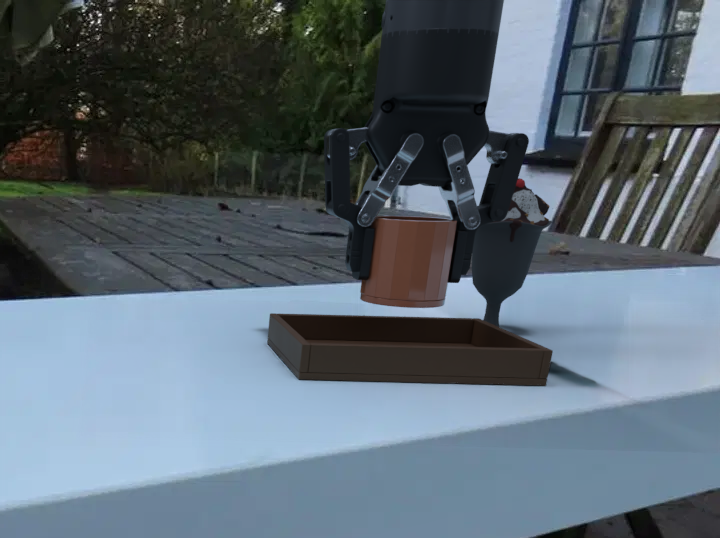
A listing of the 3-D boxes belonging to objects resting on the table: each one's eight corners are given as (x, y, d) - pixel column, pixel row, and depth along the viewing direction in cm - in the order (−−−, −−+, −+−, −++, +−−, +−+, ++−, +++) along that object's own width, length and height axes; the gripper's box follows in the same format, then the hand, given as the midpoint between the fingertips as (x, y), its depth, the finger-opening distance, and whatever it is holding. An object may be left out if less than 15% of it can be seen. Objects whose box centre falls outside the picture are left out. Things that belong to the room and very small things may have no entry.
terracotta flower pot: (428, 296, 72) (440, 216, 70) (456, 309, 66) (470, 222, 64) (351, 294, 72) (360, 214, 70) (372, 306, 66) (383, 219, 64)
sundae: (449, 345, 78) (479, 156, 73) (444, 331, 84) (471, 156, 79) (534, 351, 76) (571, 158, 71) (523, 337, 82) (556, 158, 77)
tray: (474, 348, 77) (479, 318, 76) (546, 385, 64) (553, 350, 63) (267, 343, 77) (269, 313, 76) (298, 379, 65) (302, 344, 64)
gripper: (347, 20, 59) (319, 284, 65) (572, 25, 59) (524, 290, 65) (321, 34, 66) (297, 272, 72) (522, 39, 66) (482, 277, 72)
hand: (405, 279), depth 68 cm, fingers closed on terracotta flower pot, 6 cm apart
